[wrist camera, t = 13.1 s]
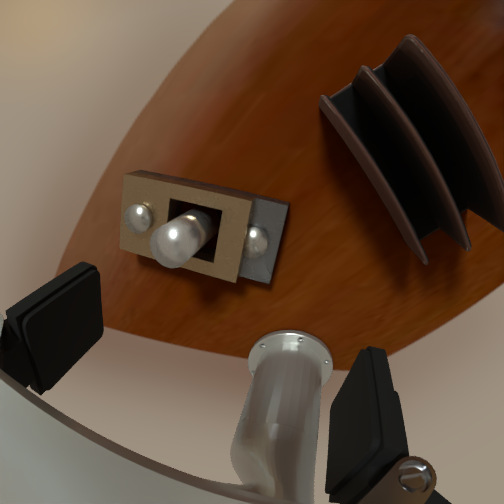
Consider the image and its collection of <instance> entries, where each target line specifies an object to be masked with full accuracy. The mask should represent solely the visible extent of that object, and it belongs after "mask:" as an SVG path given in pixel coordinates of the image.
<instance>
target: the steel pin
mask: <svg viewBox="0 0 504 504" xmlns="http://www.w3.org/2000/svg"><path fill="white" fill-rule="evenodd" d="M219 228H220V217H219V215H218V213H217V212H216V211H215V210H214V209H213V208H211V207H207V206H202V205H199V206H196V207H194V208H193V209H191V210H189V211H187V212H185V213H184V214H182V215H180V216H178V217H177V218H175V219H173V220H171V221H170V222H168V223H166V224H164V225H163V226H161V227H159V228H158V229H156V230H155V231H154V232H153V234H152V236H151V239H150V249H151V252H152V254H153V256H154V258H155V259H156V260H157V261H158V262H159V263H160V264H161V265H163V266H165V267H168V268H178V267H180V266H182V265H183V264H184V263H185V262H186V261H188V260H189V259H190V258H191V257H192V256H193V255H194V254H195V253H196V252H197V251H198V250H199V249H200V248H202V247H203V246H204V245H205V244H206V243H207V242H208V241H209V240H210V239H211V238H212V237H214V236H215V235H216V234H217V232H218V231H219Z"/></svg>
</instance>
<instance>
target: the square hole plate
mask: <svg viewBox="0 0 504 504" xmlns="http://www.w3.org/2000/svg"><path fill="white" fill-rule="evenodd" d="M182 201H185V202H189V203H194V204H198V205H202V206H207V207H211V208H215V209H219V210H223V211H222V217H221V222H220V228H219V234H218V240H217V246H216V249H212V248H208V247H205V246H203V247H202V248H200V249H199V250H198V251H197V252H196V253H195V254H194V255H193V256H192V257H191V258H190V259H189V260H188V261H186V262H185V263H184V264H183V265H182V266H180V267H182V268H185V269H188V270H192V271H195V272H199V273H202V274H206V275H209V276H213V277H216V278H219V279H223V280H227V281H230V282H234V283H236V282H237V280H238V278H239V277H240V276H241V277H245V278H248V279H252V280H256V281H259V282H263V283H267V284H269V283H270V280H271V277H272V273H273V269H274V265H275V261H276V257H277V253H278V249H279V245H280V241H281V237H282V233H283V228H284V224H285V220H286V216H287V212H288V208H289V203H290V202H286V201H282V200H278V199H274V198H270V197H266V196H261V195H257V194H253V193H249V192H244V191H240V190H236V189H231V188H227V187H222V186H218V185H213V184H208V183H204V182H199V181H194V180H189V179H184V178H180V177H175V176H169V175H164V174H159V173H154V172H148V171H143V170H139V171H135V172H130V173H126V174H124V181H123V192H122V207H121V225H120V249H123V250H126V251H129V252H132V253H136V254H139V255H142V256H145V257H149V258H152V259H155V258H154V256H153V254H152V252H151V249H150V239H151V236H152V234H153V232H154V231H155V230H156V229H158V228H159V227H161V226H163V225H164V224H166V223H168V222H170V221H171V220H173V219H175V218H177V217H178V216H180V215H181V209H182ZM155 260H156V259H155Z"/></svg>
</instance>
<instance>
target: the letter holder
mask: <svg viewBox="0 0 504 504" xmlns="http://www.w3.org/2000/svg"><path fill="white" fill-rule="evenodd" d="M319 107H320V109H321V110H322V111H323V113H324V114H325V115H326V117H327V118H328V119H329V121H330V122H331V124H332V125H333V126H334V128H335V129H336V130H337V132H338V133H339V135H340V136H341V137H342V139H343V140H344V142H345V143H346V145H347V146H348V148H349V149H350V151H351V152H352V154H353V155H354V157H355V158H356V160H357V161H358V163H359V164H360V166H361V167H362V169H363V170H364V172H365V174H366V175H367V177H368V178H369V180H370V182H371V183H372V185H373V186H374V188H375V190H376V191H377V193H378V194H379V196H380V198H381V199H382V201H383V203H384V205H385V206H386V208H387V210H388V211H389V213H390V215H391V217H392V219H393V220H394V222H395V224H396V225H397V227H398V229H399V231H400V233H401V235H402V237H403V239H404V241H405V243H406V244H407V245H408V246H409V247H410V249H411V250H412V251H413V252H414V253H415V254H416V255H417V256H418V258H419V259H420V260H421V261H422V262H423V263H424V264H425V265H428V261H429V260H428V257H427V255H426V253H425V251H424V249H423V247H422V245H421V243H420V240H422V239H423V238H425V237H426V236H428V235H430V234H431V233H433V232H434V231H436V230H438V229H441V230H442V231H444V232H445V233H446V234H448V235H449V236H450V237H451V238H452V239H454V240H455V241H456V242H457V243H458V244H459V245H460V246H462V247H463V248H464V249H465V250H466V251H470V250H471V243H470V240H469V237H468V234H467V231H466V228H465V225H464V223H463V220H462V218H461V215H460V214H461V213H463V212H464V211H465V210H467V209H469V210H471V211H473V212H474V213H476V214H477V215H479V216H480V217H482V218H483V219H485V220H486V221H488V222H489V223H491V224H492V225H494V226H495V227H497V228H498V229H499V230H501V231H502V232H504V181H503V179H502V176H501V173H500V170H499V168H498V165H497V163H496V160H495V158H494V156H493V153H492V151H491V149H490V147H489V145H488V143H487V141H486V139H485V137H484V135H483V133H482V131H481V129H480V127H479V125H478V123H477V121H476V119H475V118H474V116H473V114H472V112H471V111H470V109H469V107H468V105H467V104H466V102H465V101H464V99H463V97H462V96H461V94H460V93H459V91H458V89H457V88H456V87H455V85H454V83H453V82H452V80H451V79H450V77H449V76H448V74H447V73H446V72H445V70H444V69H443V68H442V66H441V65H440V64H439V62H438V61H437V60H436V59H435V57H434V56H433V55H432V54H431V52H430V51H429V50H428V49H427V48H426V46H425V45H424V44H423V43H422V42H421V41H420V40H419V39H418V38H417V37H416V36H414V35H412V34H409V35H406V36H405V37H404V38H403V39H402V41H401V42H400V43H399V45H398V46H397V47H396V49H395V50H394V51H393V52H392V53H391V55H390V56H389V57H388V58H387V59H386V61H385V62H384V63H383V64H382V65H380V66H378V67H377V68H375V69H374V70H372V69H371V68H370V67H369V66H367V67H366V66H361V67H360V69H359V71H358V73H357V75H356V77H355V78H354V80H353V82H352V83H350V84H349V85H347V86H346V87H344V88H343V89H341V90H340V91H338V92H337V93H335V94H334V95H332V96H331V97H328V96H327V95H322V96H320V101H319Z"/></svg>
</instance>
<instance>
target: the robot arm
mask: <svg viewBox="0 0 504 504" xmlns="http://www.w3.org/2000/svg"><path fill="white" fill-rule="evenodd" d="M6 315H7V319H6V320H4V319H3V316H2V315H1V314H0V504H314V474H315V461H316V451H317V440H318V427H319V414H320V399H321V387H322V386H324V385H325V384H326V383H327V381H328V380H329V378H330V376H331V373H332V369H333V360H332V356H331V353H330V351H329V349H328V348H327V346H326V345H325V344H324V343H323V342H322V341H320V340H319V339H318V338H316V337H314V336H312V335H310V334H308V333H305V332H301V331H295V330H281V331H276V332H272V333H270V334H267V335H265V336H263V337H262V338H260V339H259V340H258V341H257V342H256V343H255V344H254V345H253V347H252V349H251V351H250V354H249V357H248V368H249V371H250V373H251V375H252V377H253V380H252V383H251V386H250V389H249V392H248V395H247V398H246V401H245V405H244V408H243V411H242V414H241V417H240V420H239V423H238V426H237V429H236V432H235V435H234V438H233V442H232V445H231V451H230V455H231V462H232V465H233V467H234V469H235V471H236V473H237V475H238V476H239V478H240V480H241V481H242V483H243V485H237V484H230V483H227V484H226V483H221V482H216V481H211V480H207V479H202V478H199V477H196V476H193V475H190V474H187V473H184V472H182V471H179V470H176V469H174V468H171V467H168V466H166V465H163V464H161V463H159V462H156V461H154V460H151V459H149V458H147V457H145V456H142V455H140V454H138V453H136V452H133V451H131V450H129V449H127V448H125V447H123V446H121V445H119V444H117V443H115V442H113V441H111V440H109V439H107V438H105V437H103V436H101V435H99V434H97V433H95V432H94V431H92V430H90V429H88V428H87V427H85V426H83V425H81V424H80V423H78V422H76V421H75V420H73V419H71V418H70V417H68V416H66V415H64V414H63V413H62V412H60V411H58V410H57V409H55V408H54V407H52V406H50V405H49V404H48V403H46V402H45V401H43V400H41V399H40V398H39V397H37V396H36V395H35V394H33V393H32V392H30V391H29V390H28V389H26V388H27V387H28V386H29V385H30V387H31V389H32V390H34V391H35V392H37V393H38V394H39V395H42V394H43V393H44V392H45V391H46V390H50V389H51V388H52V387H53V386H54V385H55V384H56V383H57V382H58V381H59V380H60V379H61V378H62V377H63V376H64V375H65V374H66V373H67V372H68V371H69V370H70V369H71V368H72V366H73V365H74V364H75V363H76V362H77V361H78V360H79V359H80V358H81V357H82V356H83V355H84V354H85V353H86V352H87V351H88V350H89V349H90V348H91V347H92V346H93V345H94V344H95V343H96V342H97V341H98V340H99V339H100V338H101V337H102V335H103V331H104V328H103V317H102V303H101V286H100V273H99V272H98V270H97V267H96V266H94V265H91V264H89V263H86V262H80V263H78V264H77V265H75V266H73V267H72V268H70V269H69V270H67V271H65V272H64V273H62V274H61V275H59V276H57V277H56V278H54V279H53V280H51V281H50V282H48V283H46V284H45V285H43V286H42V287H40V288H39V289H37V290H36V291H34V292H33V293H31V294H30V295H28V296H27V297H25V298H24V299H22V300H21V301H19V302H18V303H16V304H15V305H13V306H12V307H10V308H9V309H8V310H6ZM436 480H437V477H436V473H435V470H434V469H433V467H432V465H431V464H430V463H429V462H428V461H426V460H424V459H422V458H420V457H416V456H409V451H408V445H407V438H406V432H405V426H404V420H403V415H402V409H401V404H400V400H399V395H398V393H397V392H396V391H394V388H393V383H392V379H391V373H390V369H389V364H388V359H387V355H386V351H385V350H384V349H380V348H375V347H371V346H369V347H367V348H366V350H364V349H362V350H361V351H360V352H359V354H358V356H357V358H356V360H355V362H354V364H353V366H352V368H351V370H350V372H349V373H348V375H347V377H346V379H345V381H344V383H343V385H342V387H341V388H340V390H339V392H338V394H337V396H336V397H335V399H334V401H333V403H332V405H331V409H330V425H329V444H328V459H327V473H326V484H325V493H327V494H330V496H329V502H331V503H340V504H451V503H450V502H449V501H448V500H446V499H445V498H444V497H443V496H442V495H440V494H439V493H438V492H437V491H436V490H434V488H435V486H436Z"/></svg>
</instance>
